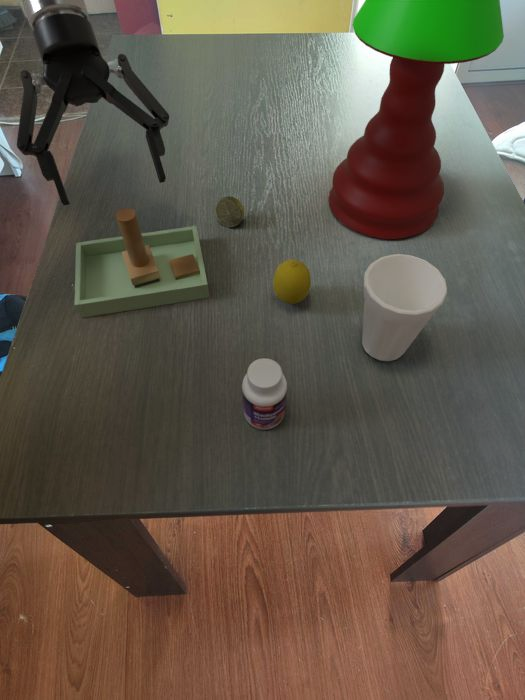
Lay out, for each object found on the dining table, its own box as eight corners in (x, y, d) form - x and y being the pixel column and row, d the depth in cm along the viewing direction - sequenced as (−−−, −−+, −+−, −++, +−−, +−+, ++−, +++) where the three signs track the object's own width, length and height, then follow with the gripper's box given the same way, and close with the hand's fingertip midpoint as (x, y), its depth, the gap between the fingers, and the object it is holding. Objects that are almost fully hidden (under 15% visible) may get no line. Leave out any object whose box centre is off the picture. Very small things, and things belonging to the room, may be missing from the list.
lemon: (290, 281, 74) (293, 243, 68) (316, 301, 72) (321, 263, 65) (265, 299, 72) (265, 262, 65) (290, 320, 70) (293, 283, 63)
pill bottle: (253, 437, 59) (252, 399, 51) (237, 402, 62) (233, 362, 54) (292, 421, 60) (296, 382, 52) (274, 388, 63) (276, 346, 55)
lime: (246, 229, 81) (245, 205, 77) (218, 232, 81) (216, 208, 77) (242, 212, 84) (241, 189, 80) (216, 215, 83) (213, 191, 79)
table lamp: (406, 164, 92) (501, -177, 55) (458, 228, 81) (619, -143, 44) (312, 182, 89) (346, -167, 52) (353, 251, 78) (433, -128, 41)
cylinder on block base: (134, 289, 73) (114, 232, 63) (125, 262, 76) (105, 204, 67) (161, 281, 74) (146, 224, 64) (151, 255, 77) (135, 197, 68)
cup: (342, 319, 70) (356, 255, 59) (408, 315, 70) (434, 250, 59) (355, 376, 64) (373, 316, 53) (426, 371, 64) (459, 311, 54)
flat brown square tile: (175, 280, 74) (175, 276, 73) (169, 263, 76) (169, 259, 75) (200, 273, 74) (199, 270, 74) (193, 257, 77) (192, 253, 76)
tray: (80, 318, 70) (74, 305, 68) (82, 256, 78) (76, 242, 75) (209, 297, 72) (207, 284, 70) (198, 239, 80) (196, 225, 77)
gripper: (154, 27, 67) (197, 177, 71) (-30, 56, 61) (28, 217, 66) (156, -5, 60) (204, 164, 64) (-52, 26, 54) (15, 208, 58)
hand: (115, 191), depth 65 cm, fingers open, 13 cm apart
